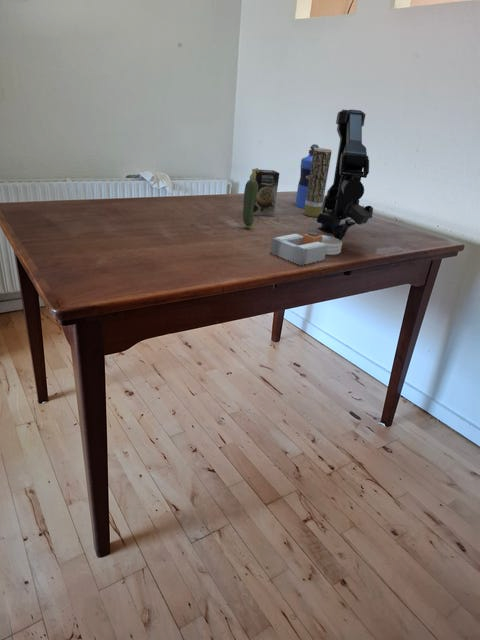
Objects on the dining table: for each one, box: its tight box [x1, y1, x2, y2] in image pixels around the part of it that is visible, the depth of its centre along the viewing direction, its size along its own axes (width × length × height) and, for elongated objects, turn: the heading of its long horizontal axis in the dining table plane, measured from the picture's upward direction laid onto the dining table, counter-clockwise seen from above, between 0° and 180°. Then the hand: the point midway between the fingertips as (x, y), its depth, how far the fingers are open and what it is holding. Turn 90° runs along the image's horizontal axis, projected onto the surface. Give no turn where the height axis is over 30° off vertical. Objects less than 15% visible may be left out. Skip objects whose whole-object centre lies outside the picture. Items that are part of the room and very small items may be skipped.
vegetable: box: [242, 167, 260, 229], centre depth 151 cm, size 4×4×20 cm
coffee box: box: [251, 168, 280, 217], centre depth 172 cm, size 9×6×16 cm
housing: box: [270, 233, 327, 266], centre depth 132 cm, size 12×10×5 cm
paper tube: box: [303, 147, 333, 218], centre depth 176 cm, size 7×7×25 cm
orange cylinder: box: [302, 231, 323, 245], centre depth 135 cm, size 4×4×6 cm
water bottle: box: [294, 143, 320, 209], centre depth 190 cm, size 9×9×25 cm
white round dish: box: [321, 234, 343, 256], centre depth 140 cm, size 10×10×4 cm
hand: (337, 243), depth 144 cm, fingers closed
